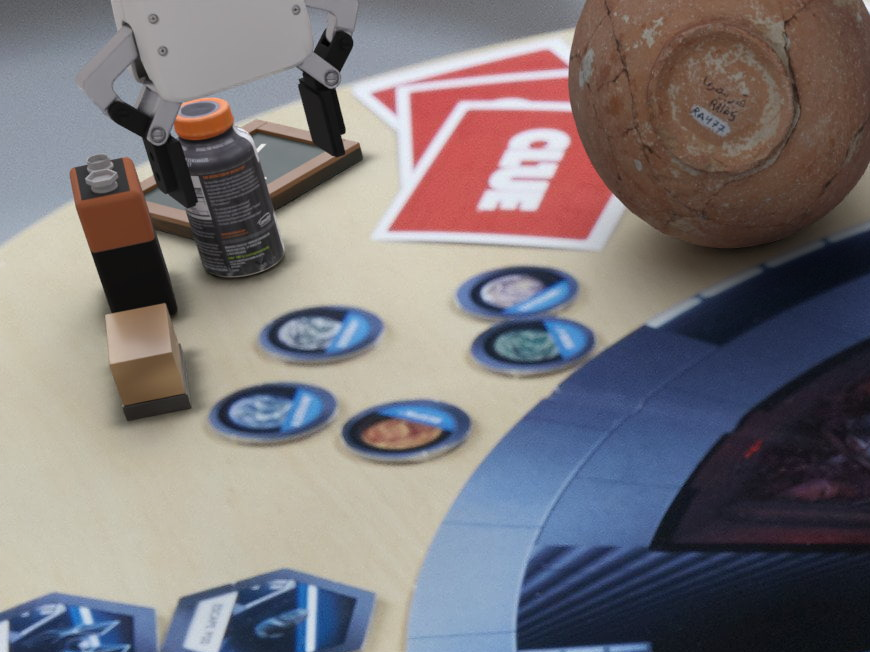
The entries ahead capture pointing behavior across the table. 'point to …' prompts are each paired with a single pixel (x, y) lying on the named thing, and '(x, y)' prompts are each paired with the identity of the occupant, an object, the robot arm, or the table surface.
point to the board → (264, 172)
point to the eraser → (147, 362)
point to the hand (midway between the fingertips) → (257, 174)
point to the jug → (724, 111)
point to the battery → (121, 234)
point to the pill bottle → (227, 192)
